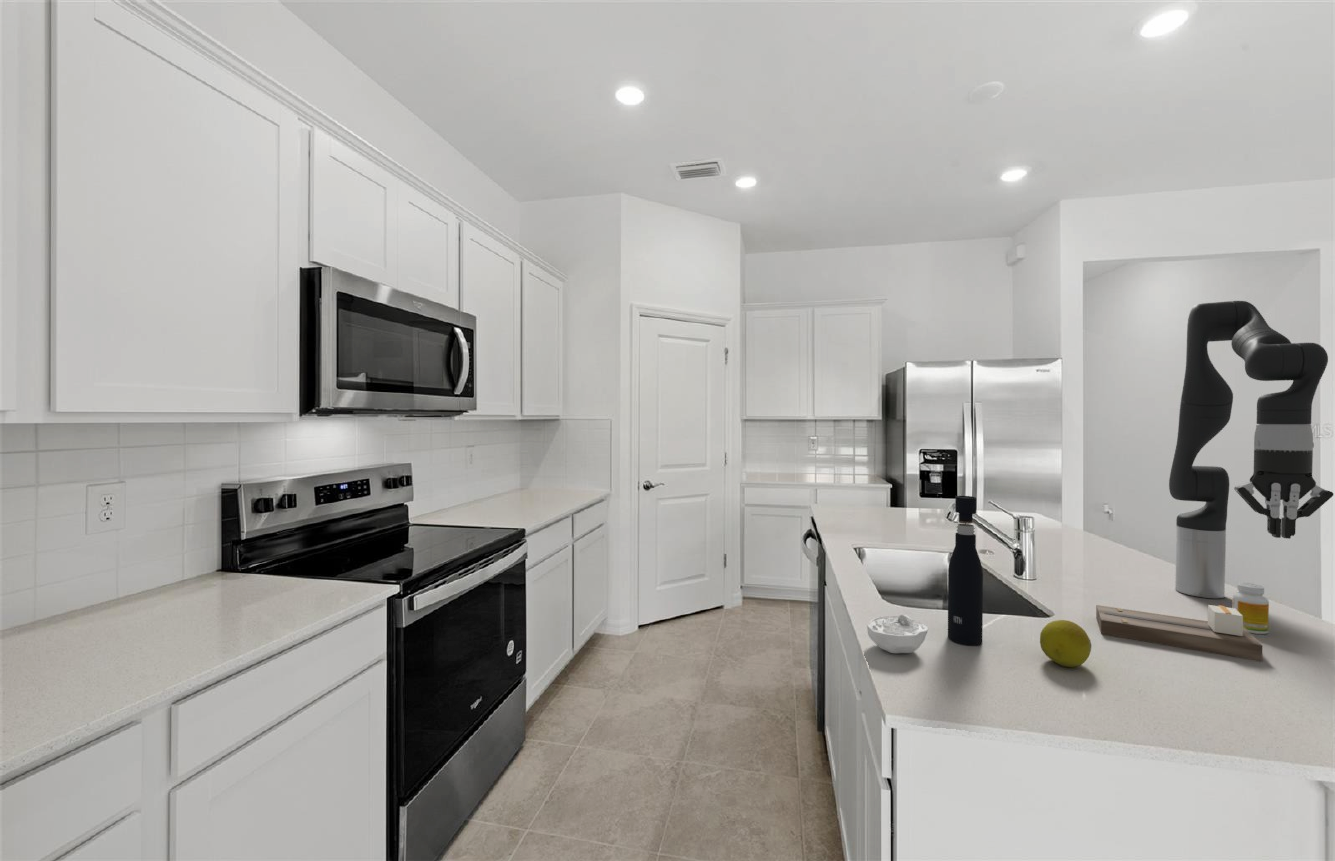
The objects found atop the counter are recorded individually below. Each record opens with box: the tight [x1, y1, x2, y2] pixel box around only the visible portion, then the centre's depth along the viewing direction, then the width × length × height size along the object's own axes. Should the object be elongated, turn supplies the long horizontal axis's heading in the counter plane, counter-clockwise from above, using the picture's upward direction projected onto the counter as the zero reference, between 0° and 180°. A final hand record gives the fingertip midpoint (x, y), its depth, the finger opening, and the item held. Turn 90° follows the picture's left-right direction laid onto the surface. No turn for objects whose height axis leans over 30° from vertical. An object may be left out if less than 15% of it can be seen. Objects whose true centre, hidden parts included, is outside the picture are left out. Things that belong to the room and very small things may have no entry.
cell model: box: [866, 614, 929, 654], centre depth 110 cm, size 10×12×7 cm
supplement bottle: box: [1231, 582, 1270, 635], centre depth 118 cm, size 5×5×10 cm
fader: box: [1207, 604, 1243, 636], centre depth 110 cm, size 5×4×4 cm
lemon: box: [1039, 619, 1092, 668], centre depth 103 cm, size 11×8×8 cm
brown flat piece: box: [1095, 604, 1263, 662], centre depth 115 cm, size 11×24×3 cm, turn 56°
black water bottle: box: [947, 495, 984, 647], centre depth 114 cm, size 6×6×30 cm
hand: (1280, 537), depth 106 cm, fingers closed
